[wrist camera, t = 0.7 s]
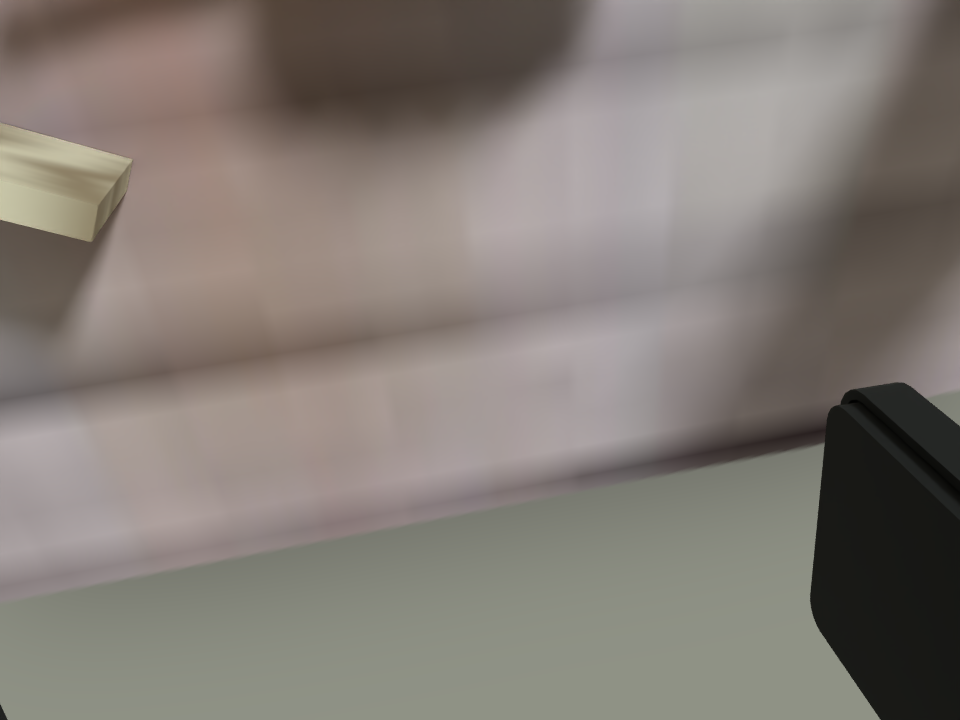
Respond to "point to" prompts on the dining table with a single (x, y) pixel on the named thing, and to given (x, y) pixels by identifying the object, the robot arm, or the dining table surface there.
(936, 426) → the robot arm
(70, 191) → the box
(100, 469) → the dining table surface
